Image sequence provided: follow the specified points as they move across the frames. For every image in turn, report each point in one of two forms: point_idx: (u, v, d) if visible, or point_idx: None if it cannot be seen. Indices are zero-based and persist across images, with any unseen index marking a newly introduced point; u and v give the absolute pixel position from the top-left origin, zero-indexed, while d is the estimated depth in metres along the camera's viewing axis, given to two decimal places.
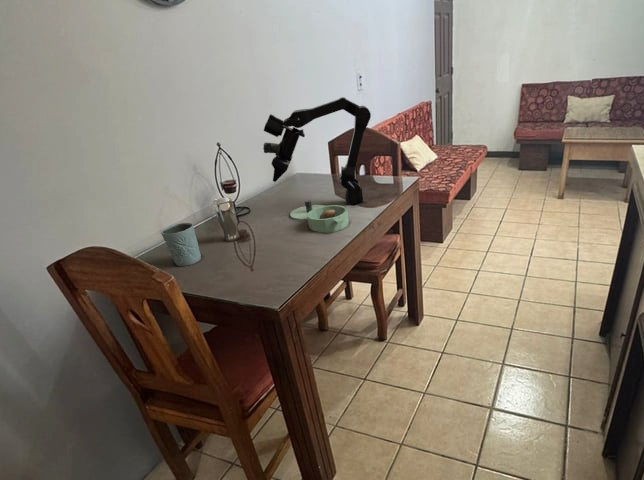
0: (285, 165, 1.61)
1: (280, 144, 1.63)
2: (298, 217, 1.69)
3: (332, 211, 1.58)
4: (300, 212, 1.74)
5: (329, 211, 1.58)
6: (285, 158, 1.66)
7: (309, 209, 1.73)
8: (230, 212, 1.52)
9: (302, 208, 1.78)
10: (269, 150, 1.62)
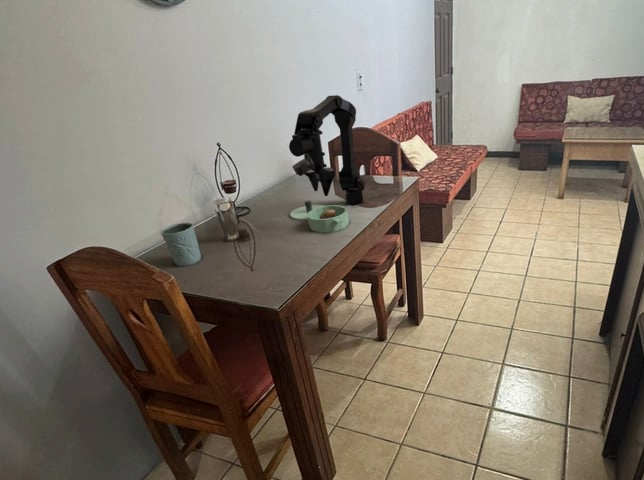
0: (333, 171, 1.45)
1: (310, 156, 1.46)
2: (298, 217, 1.69)
3: (332, 211, 1.58)
4: (300, 212, 1.74)
5: (329, 211, 1.58)
6: (322, 167, 1.49)
7: (309, 209, 1.73)
8: (230, 212, 1.52)
9: (302, 208, 1.78)
10: (306, 169, 1.45)
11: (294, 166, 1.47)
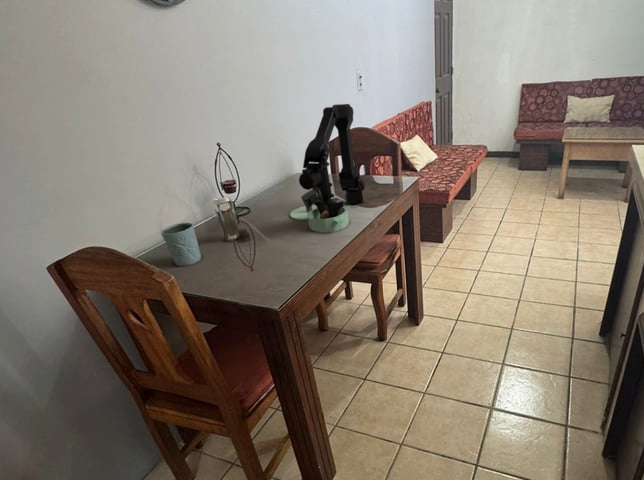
0: (341, 202, 1.51)
1: (318, 188, 1.51)
2: (298, 217, 1.69)
3: None
4: (300, 212, 1.74)
5: None
6: (329, 197, 1.55)
7: (309, 209, 1.73)
8: (230, 212, 1.52)
9: (302, 208, 1.78)
10: (315, 200, 1.50)
11: (303, 197, 1.52)
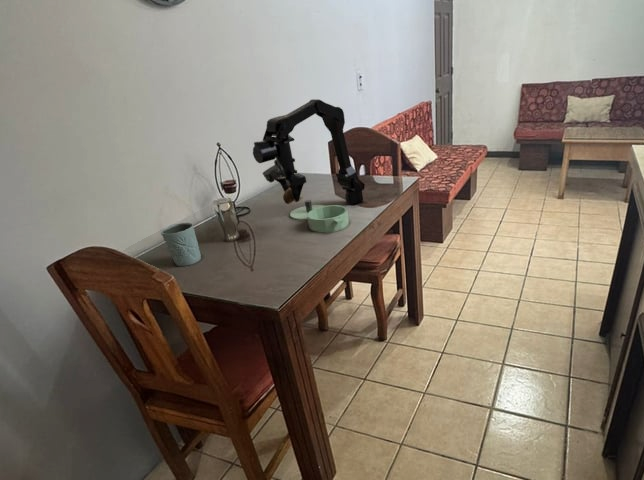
0: (303, 178, 1.46)
1: (280, 163, 1.46)
2: (298, 217, 1.69)
3: None
4: (300, 212, 1.74)
5: None
6: (292, 173, 1.50)
7: (309, 209, 1.73)
8: (230, 212, 1.52)
9: (302, 208, 1.78)
10: (276, 176, 1.46)
11: (264, 173, 1.48)
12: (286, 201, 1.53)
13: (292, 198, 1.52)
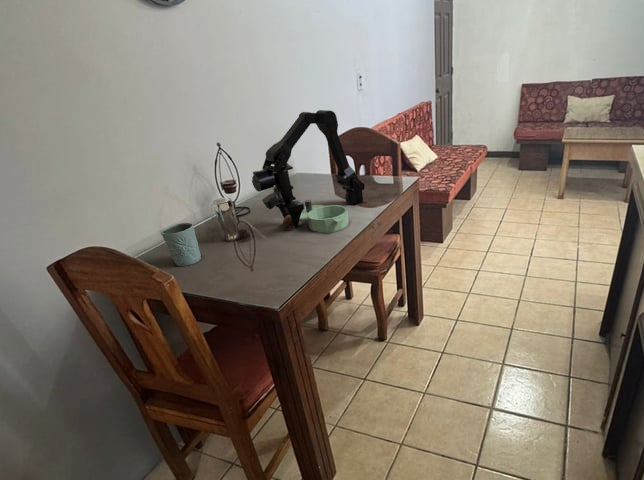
0: (301, 205, 1.51)
1: (279, 191, 1.52)
2: None
3: None
4: None
5: None
6: (291, 199, 1.55)
7: (309, 209, 1.73)
8: (230, 212, 1.52)
9: None
10: (275, 203, 1.51)
11: (264, 200, 1.53)
12: (285, 228, 1.59)
13: (291, 225, 1.58)
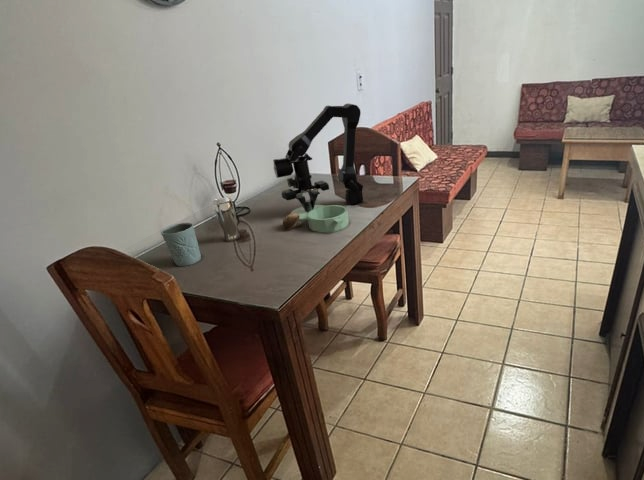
0: (285, 195, 1.64)
1: None
2: None
3: (295, 215, 1.59)
4: (300, 212, 1.74)
5: (292, 215, 1.58)
6: (299, 189, 1.67)
7: (309, 209, 1.73)
8: (230, 212, 1.52)
9: (302, 208, 1.78)
10: (289, 185, 1.71)
11: None
12: (285, 228, 1.59)
13: (291, 225, 1.58)
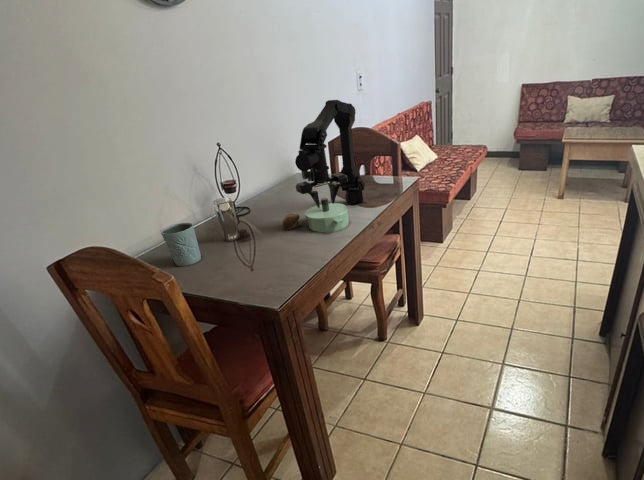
0: (300, 188, 1.48)
1: None
2: (314, 217, 1.54)
3: (295, 215, 1.59)
4: (316, 211, 1.59)
5: (292, 215, 1.58)
6: (315, 181, 1.51)
7: (326, 208, 1.58)
8: (230, 212, 1.52)
9: (317, 207, 1.63)
10: (304, 177, 1.55)
11: None
12: (285, 228, 1.59)
13: (291, 225, 1.58)
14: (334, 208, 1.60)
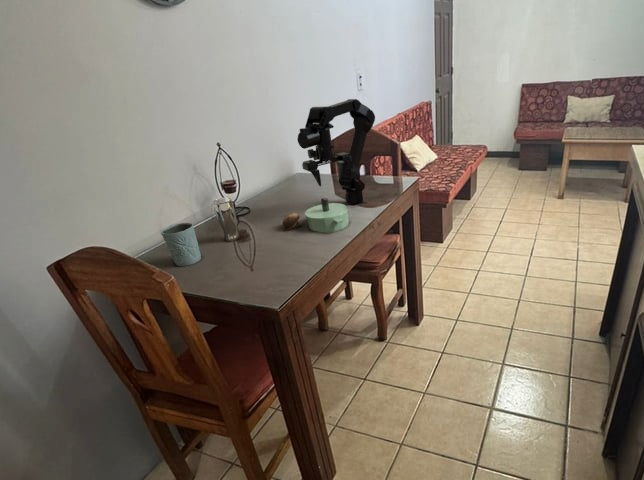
0: (307, 166, 1.56)
1: (316, 147, 1.60)
2: (314, 217, 1.54)
3: (295, 215, 1.59)
4: (316, 211, 1.59)
5: (292, 215, 1.58)
6: (321, 159, 1.60)
7: (326, 208, 1.58)
8: (230, 212, 1.52)
9: (317, 207, 1.63)
10: (310, 156, 1.63)
11: None
12: (285, 228, 1.59)
13: (291, 225, 1.58)
14: (334, 208, 1.60)
